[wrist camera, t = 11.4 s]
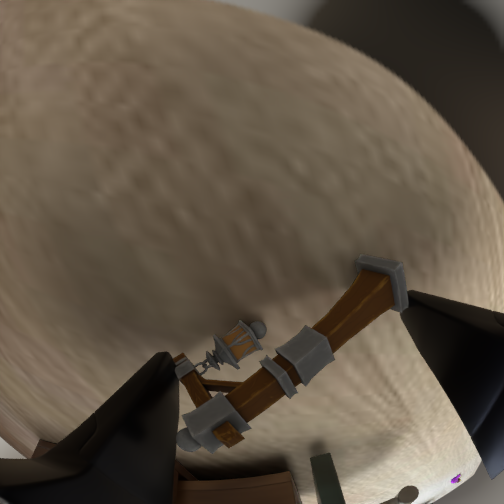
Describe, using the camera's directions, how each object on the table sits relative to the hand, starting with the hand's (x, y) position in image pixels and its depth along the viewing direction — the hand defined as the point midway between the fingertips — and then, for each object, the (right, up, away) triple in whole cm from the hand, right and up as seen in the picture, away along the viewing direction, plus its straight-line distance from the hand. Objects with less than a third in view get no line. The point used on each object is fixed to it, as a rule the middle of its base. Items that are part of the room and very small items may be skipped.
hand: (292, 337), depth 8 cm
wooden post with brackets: (0, 0, +1) cm, 1 cm away
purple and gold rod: (+51, -55, +24) cm, 79 cm away
